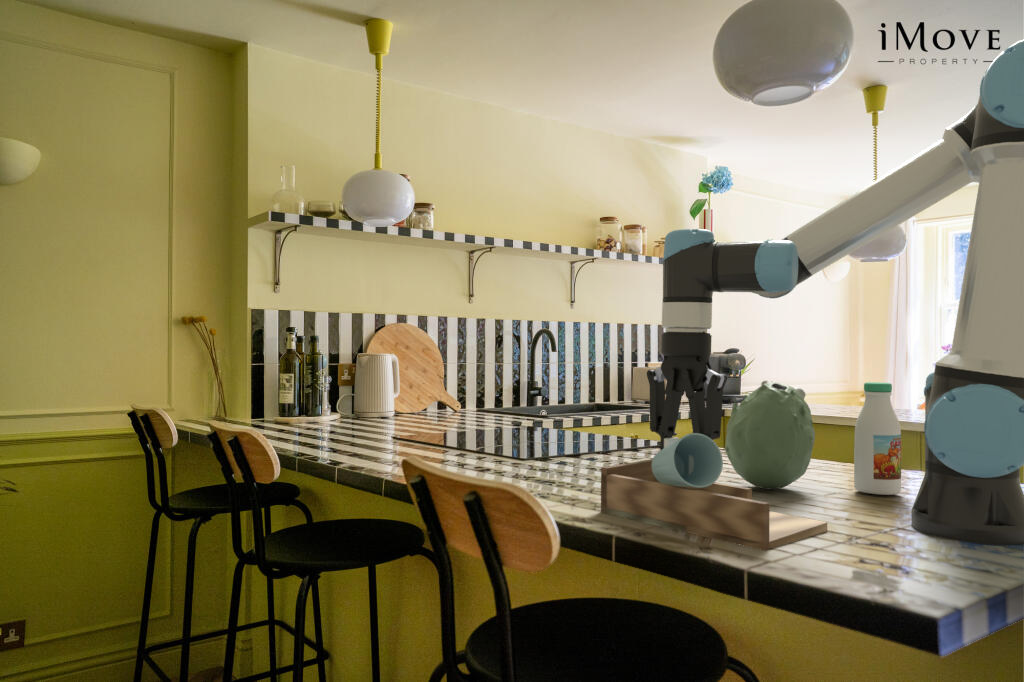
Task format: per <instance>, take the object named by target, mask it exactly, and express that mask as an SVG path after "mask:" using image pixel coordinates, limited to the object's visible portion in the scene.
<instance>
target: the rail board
mask: <svg viewBox="0 0 1024 682" xmlns="http://www.w3.org/2000/svg"><path fill="white" fill-rule="evenodd" d="M652 460H653V458H650V457H646V458H641V459H639V458H638V459H634V460H627V461H624V462H623V463H619V464H614V465H606V466H601V467H600V513H603V514H607V515H611V516H615V517H618V518H619V517H620V518H625V519H628V520H633V521H636V522H641V523H645V524H649V525H654V526H658V527H663V528H666V529H671V530H674V531H680V532H684V533H687V534H692V535H697V536H701V537H706V538H709V539H713V538H714V540H717V539H718V540H717V541H721V540H722V542H726V541H727V542H726V543H730V542H731V543H730V544H734V543H736V544H735V545H739V544H740V546H743V545H744V547H747V546H748V547H747V548H751V547H752V548H751V549H757V550H760V549H761V550H760V551H764V550H765V551H767V549H768V550H771V549H774V548H777V546H778V547H780V545H781V546H784V545H787V544H790V542H791V543H794V542H796V541H800V540H802V539H806V538H810V537H813V536H816V535H820V534H823V533H826V532H828V521H822V520H816V519H812V518H805V517H803V516H802V517H801V516H797V515H791V514H787V513H786V514H785V513H780V512H775V511H772V510H770V505H771V504H770V502H766V501H761V500H756V499H753V494H752V493H753V492H752V491H753V488H751V487H746V486H738V485H734V484H728V483H721V482H717V481H715V482H714V483H713V484H712V485H710V486H707V487H703V488H695V487H685V486H675V485H669V484H664V483H661V482H659V481H658V480H657V479H656V478H655V476H654V474H653V472H652ZM786 543H787V544H786ZM773 547H774V548H773ZM770 548H771V549H770Z"/></svg>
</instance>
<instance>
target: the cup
mask: <svg viewBox="0 0 1024 682" xmlns="http://www.w3.org/2000/svg"><path fill="white" fill-rule="evenodd" d="M689 455H691V456H692V457H693V459H694V468H693V471H692V472H691V473H690V474H689ZM652 459H653V460H652V472H653V474H654V476H655V478H656V479H657V480H658V481H659V482H661V483H664V484H669V485H675V486H685V487H695V488H703V487H707V486H710V485H712V484H713V483H714V482H717V480H719V478H720V476H721V474H722V472H723V467H724V466H723V465H724V461H723V460H724V459H723V455H722V452H721V449H720V448H719V446H718V444H717V443H716V442H715V441H714V440H712V439H711V438H709V437H708V436H706V435H703V434H699V433H693V432H692V433H687V434H685V435H683V436H682V437H680V438H679V439H678V440H677V441H675V442H674V443H672V444H670V445H669V446H667V447H665V448H664V449H662V450H661V451H660V450H659V451H658V452H657V453H655V455H654V456H653V458H652Z"/></svg>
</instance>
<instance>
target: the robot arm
mask: <svg viewBox="0 0 1024 682" xmlns="http://www.w3.org/2000/svg"><path fill="white" fill-rule="evenodd" d="M978 97H979V98H978V102H977V103H976V105H975V106H974V107H973V108H972V109H970V110H969V112H968V113H966V114H965V115H964V116H963V117H961V118H960V119H959V120H957V121H956V122H954V123H952V124H951V125H949V126H948V127H946V128H945V129H944V132H943V135H942V138H941V139H940V140H938V141H937V142H935V143H933V144H932V145H931V146H929V147H927V148H926V149H924V150H922V151H921V152H919V153H917V154H916V155H914V156H913V157H911V158H910V159H908V160H906V161H905V162H903V163H901V164H900V165H898V166H897V167H896V168H894V169H892V170H890V171H888V172H887V173H886V174H883V176H881V177H879V178H878V179H876V180H874V181H873V182H871V183H870V184H868V185H866V186H865V187H863V188H862V189H860V190H858V191H857V192H855V193H854V194H852V195H851V196H849V197H847V198H846V199H844V200H842V201H841V202H840V203H838V204H835V205H834V206H833V207H831V208H830V209H828V210H826V211H825V212H823V213H821V214H820V215H819V216H817V217H815V218H814V219H812V220H810V221H808V222H807V223H805V224H804V225H803V226H801V227H799V228H797V229H796V230H794V231H793V232H792V233H791V232H790V233H789V234H787V236H785V237H784V238H782V239H780V240H777V239H767V240H751V241H735V242H734V241H731V242H718V241H716V240H715V235H714V233H713V231H712V230H708V229H703V228H702V229H701V228H696V229H695V228H693V229H692V228H682V229H675V230H672V231H669V232H668V233H667V234H666V235H665V238H664V244H663V245H664V246H663V258H662V261H661V262H662V304H661V328H662V329H665V331H663V332H662V334H661V344H660V345H661V347H660V348H661V349H660V350H661V351H660V352H661V354H662V358H663V359H662V362H661V364H660V367H658V368H656V369H649V370H647V371H646V378H647V380H648V383H649V430H650V431H651V432H652V433H656V434H658V436H659V437H660V448H659V451H661V450H662V449H664V448H665V447H667V446H669V445H670V444H672V443H674V442H675V441H677V440H678V439H680V438H679V437H676V436H677V435H678V433H677V432H676V426H677V421H678V417H679V413H680V412H679V411H680V408H681V401H682V397H683V396H684V395H685V397H686V398H687V400H688V401H687V402H688V406H689V414H690V420H691V428H692V429H691V430H692V433H699V434H703V435H706V436H708V437H709V438H711V439H712V440H713V441H714V440H718V439H720V438H721V435H722V434H721V430H722V415H723V414H722V413H723V398H724V389H725V386H726V384H727V382H728V376H727V374H725V373H719V372H716V371H714V370H713V368H712V365H711V363H710V358H711V354H712V337H713V336H712V334H711V333H710V332H708V330H710V329H712V327H713V326H712V325H713V324H712V322H713V321H712V319H713V318H712V317H713V295H714V293H752V294H756V295H759V296H760V297H762V298H766V299H778V298H781V297H784V296H786V295H788V294H790V293H791V292H792V291H793V290H794V289H795V288H796V287H797V286H798V285H799V284H801V283H803V282H804V281H807V280H808V279H809V278H811V277H812V276H814V275H815V274H818V273H819V272H821V271H822V270H824V269H826V268H827V267H829V266H831V265H832V264H834V263H836V262H838V261H839V260H841V259H843V258H844V257H846V256H848V255H850V254H852V253H853V252H855V251H857V250H858V249H859V248H862V247H864V246H865V245H867V244H869V243H870V242H872V241H873V240H875V239H877V238H879V237H881V236H883V235H884V234H886V233H887V232H888V231H891V230H893V229H894V228H896V227H898V226H900V225H901V224H902V223H904V222H906V221H908V220H909V219H911V218H913V217H915V216H917V215H918V214H919V213H923V211H925V210H926V209H928V208H930V207H932V206H934V205H935V204H937V203H938V202H941V201H942V200H944V199H946V198H947V197H949V196H950V195H952V194H954V193H956V192H957V191H959V190H961V189H962V188H964V187H966V186H968V185H970V184H972V183H978V187H977V195H976V201H975V207H974V211H973V219H972V225H971V229H970V230H971V231H970V237H969V241H968V242H969V244H968V248H967V255H966V258H965V259H966V261H965V267H964V273H963V277H962V285H961V290H960V296H959V301H958V308H957V313H956V319H955V327H954V331H953V332H954V333H953V339H952V344H951V345H952V346H951V349H950V352H949V353H948V354H946V355H945V356H943V357H942V358H940V359H939V360H937V361H936V362H935V367H934V371H933V372H931V373H930V374H928V375H927V376H926V379H925V386H924V389H923V396H924V397H925V398H924V402H925V403H924V404H925V405H924V408H925V409H924V411H925V412H924V413H925V414H924V426H923V431H924V435H925V437H924V476H923V478H922V481H921V484H920V488H919V489H918V492H917V495H916V497H915V500H914V503H913V505H912V509H911V515H910V516H911V518H910V520H911V521H910V522H911V523H910V524H911V526H912V527H913V528H914V529H915V530H917V531H920V532H922V533H925V534H927V535H931V536H935V537H939V538H943V539H948V540H952V541H957V542H958V541H959V542H965V543H973V544H982V545H992V544H993V545H995V546H997V545H998V546H1017V545H1019V546H1020V545H1024V491H1023V488H1022V486H1021V481H1020V477H1021V476H1020V475H1021V474H1020V473H1021V472H1020V469H1021V467H1023V466H1024V39H1022V40H1019V41H1017V42H1015V43H1013V44H1012V45H1009V46H1008V47H1007V48H1006V49H1004V50H1003V51H1001V52H1000V54H998V55H997V57H995V59H994V60H993V61H992V62H991V64H989V66H988V67H987V69H986V70H985V71H984V75H983V76H982V78H981V81H980V85H979V96H978ZM665 380H666V383H665ZM705 383H706V385H707V389H705ZM705 396H706V397H705ZM705 399H706V400H705ZM693 468H694V459H693V457H692V456H691V455H689V474H690V473H691V472H692V471H693Z"/></svg>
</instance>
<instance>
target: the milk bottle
mask: <svg viewBox="0 0 1024 682" xmlns="http://www.w3.org/2000/svg"><path fill="white" fill-rule="evenodd" d="M863 391H864V392H863V394H864V396H865V398H864V402H863V406H862V408H861V410H860V412H859V413H858V416H857V418H856V421H855V426H854V440H853V441H854V444H853V445H854V446H853V449H854V452H853V453H854V454H853V457H854V458H853V459H854V461H853V462H854V463H853V464H854V465H853V476H854V477H853V482H854V484H853V485H854V489H855V490H856V491H857V492H861V493H865V494H872V495H881V496H882V495H883V496H884V495H887V496H890V495H892V496H893V495H898V494H900V493H901V492H902V491H901V490H902V431H901V430H902V429H901V424H900V422H899V421H900V420H899V419H898V417H897V415H896V412H895V410H894V407H893V404H892V401H891V396H892V395H893V393H892V391H893V385H892V383H891V382H880V381H879V382H877V381H876V382H875V381H872V382H871V381H869V382H867V381H866V382H864V383H863Z"/></svg>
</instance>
